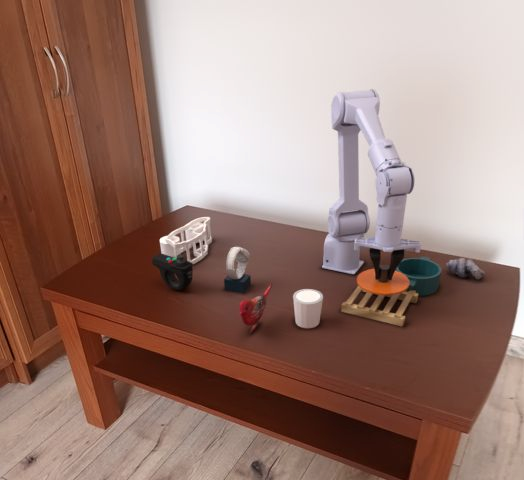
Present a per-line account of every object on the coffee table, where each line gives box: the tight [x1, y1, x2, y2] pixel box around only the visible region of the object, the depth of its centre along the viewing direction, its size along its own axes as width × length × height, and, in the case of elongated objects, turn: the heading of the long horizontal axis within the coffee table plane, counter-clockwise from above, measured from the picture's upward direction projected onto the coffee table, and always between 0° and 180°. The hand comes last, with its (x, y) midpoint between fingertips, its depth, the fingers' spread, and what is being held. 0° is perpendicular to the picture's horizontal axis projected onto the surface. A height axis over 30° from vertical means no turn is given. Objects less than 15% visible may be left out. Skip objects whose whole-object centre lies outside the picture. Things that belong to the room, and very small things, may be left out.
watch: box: [223, 246, 252, 294], centre depth 135 cm, size 6×8×11 cm
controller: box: [151, 253, 194, 291], centre depth 136 cm, size 4×12×10 cm, turn 54°
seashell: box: [445, 257, 485, 280], centre depth 138 cm, size 5×5×10 cm
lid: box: [356, 264, 410, 296], centre depth 124 cm, size 12×12×4 cm
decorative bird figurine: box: [238, 283, 273, 334], centre depth 121 cm, size 3×18×10 cm, turn 156°
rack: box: [340, 284, 419, 327], centre depth 128 cm, size 15×13×3 cm
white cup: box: [292, 288, 324, 329], centre depth 122 cm, size 7×7×7 cm
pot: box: [395, 256, 443, 297], centre depth 135 cm, size 11×17×5 cm
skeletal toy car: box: [159, 216, 213, 265], centre depth 153 cm, size 20×11×7 cm, turn 147°
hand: (383, 278), depth 124 cm, fingers closed on lid, 2 cm apart
